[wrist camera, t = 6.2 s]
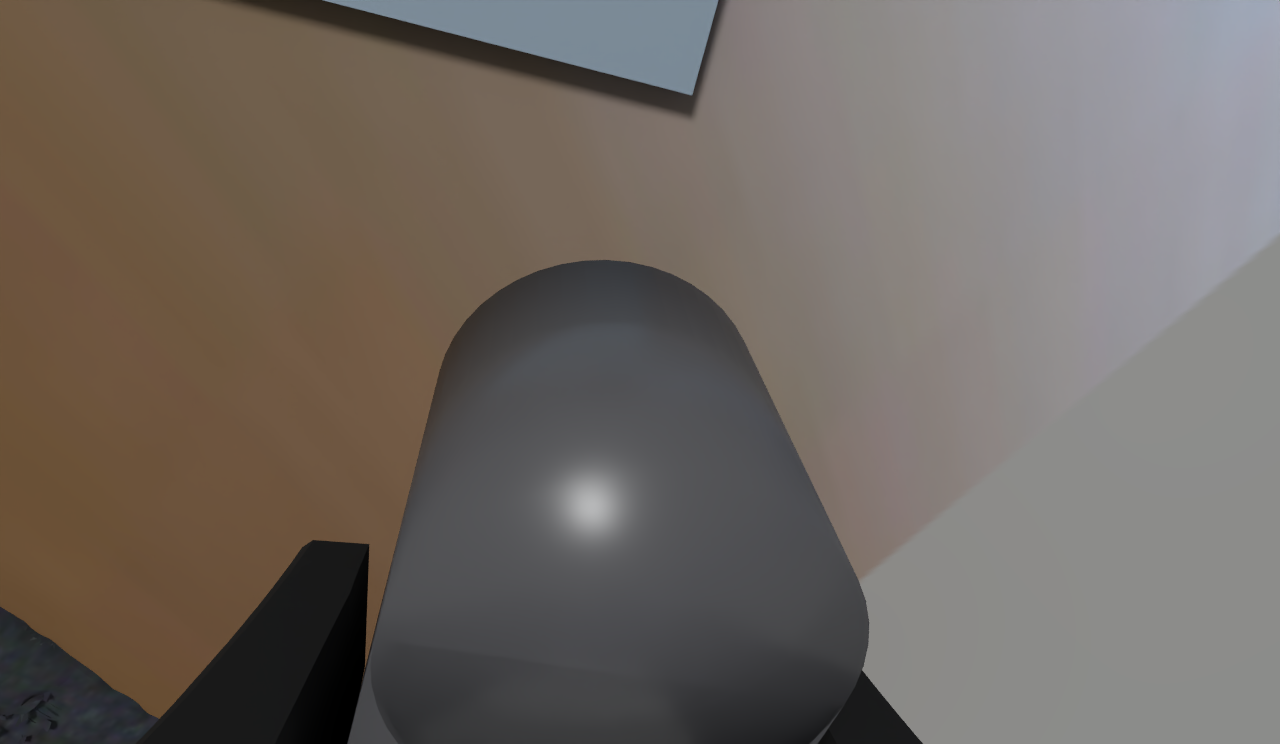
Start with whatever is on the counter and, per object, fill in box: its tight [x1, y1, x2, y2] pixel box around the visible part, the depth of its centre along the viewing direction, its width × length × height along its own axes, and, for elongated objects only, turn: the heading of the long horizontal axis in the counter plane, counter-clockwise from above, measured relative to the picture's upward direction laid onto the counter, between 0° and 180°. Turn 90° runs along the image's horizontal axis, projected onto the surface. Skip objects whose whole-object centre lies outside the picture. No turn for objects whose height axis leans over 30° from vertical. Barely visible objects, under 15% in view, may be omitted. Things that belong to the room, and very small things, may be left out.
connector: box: [347, 260, 869, 744], centre depth 9 cm, size 4×10×4 cm, turn 161°
